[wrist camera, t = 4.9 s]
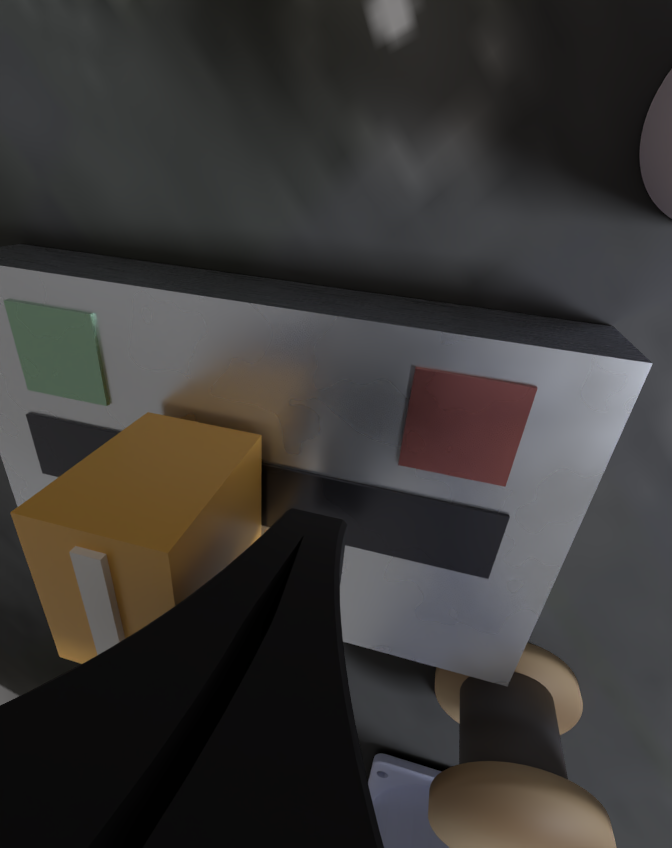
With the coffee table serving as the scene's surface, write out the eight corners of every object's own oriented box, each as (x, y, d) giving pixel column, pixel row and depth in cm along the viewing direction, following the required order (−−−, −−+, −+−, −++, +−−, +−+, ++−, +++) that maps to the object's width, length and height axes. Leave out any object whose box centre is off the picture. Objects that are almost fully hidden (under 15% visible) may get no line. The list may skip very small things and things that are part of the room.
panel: (500, 616, 15) (507, 690, 13) (85, 512, 18) (31, 558, 16) (613, 326, 10) (654, 365, 8) (20, 243, 13) (-70, 256, 11)
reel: (553, 740, 18) (580, 900, 14) (424, 703, 19) (415, 843, 15) (600, 660, 15) (649, 827, 11) (449, 622, 16) (446, 764, 12)
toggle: (261, 557, 13) (182, 703, 9) (164, 533, 13) (54, 662, 10) (261, 434, 11) (163, 559, 7) (147, 412, 11) (2, 517, 8)
